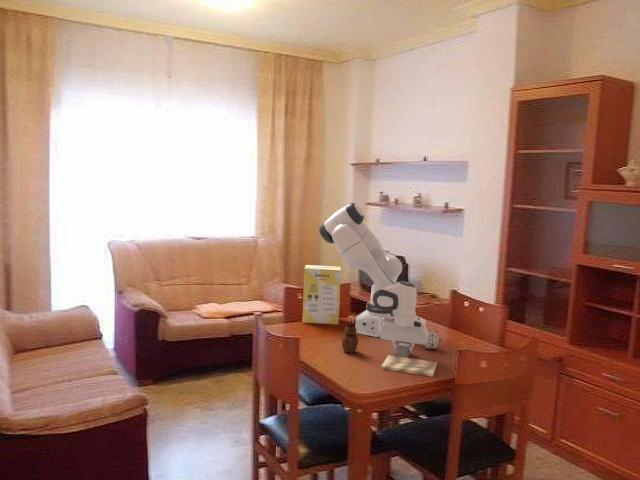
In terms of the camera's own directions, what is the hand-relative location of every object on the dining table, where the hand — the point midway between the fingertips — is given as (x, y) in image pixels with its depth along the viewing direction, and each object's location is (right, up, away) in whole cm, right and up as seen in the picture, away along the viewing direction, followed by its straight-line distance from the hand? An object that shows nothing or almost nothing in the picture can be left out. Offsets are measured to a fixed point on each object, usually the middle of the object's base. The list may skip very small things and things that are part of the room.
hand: (402, 351), depth 227 cm
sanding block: (0, -2, 0) cm, 2 cm away
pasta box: (-35, +5, +50) cm, 61 cm away
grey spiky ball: (+14, -1, +10) cm, 17 cm away
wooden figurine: (-22, -1, +2) cm, 23 cm away
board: (+1, -3, -14) cm, 14 cm away
